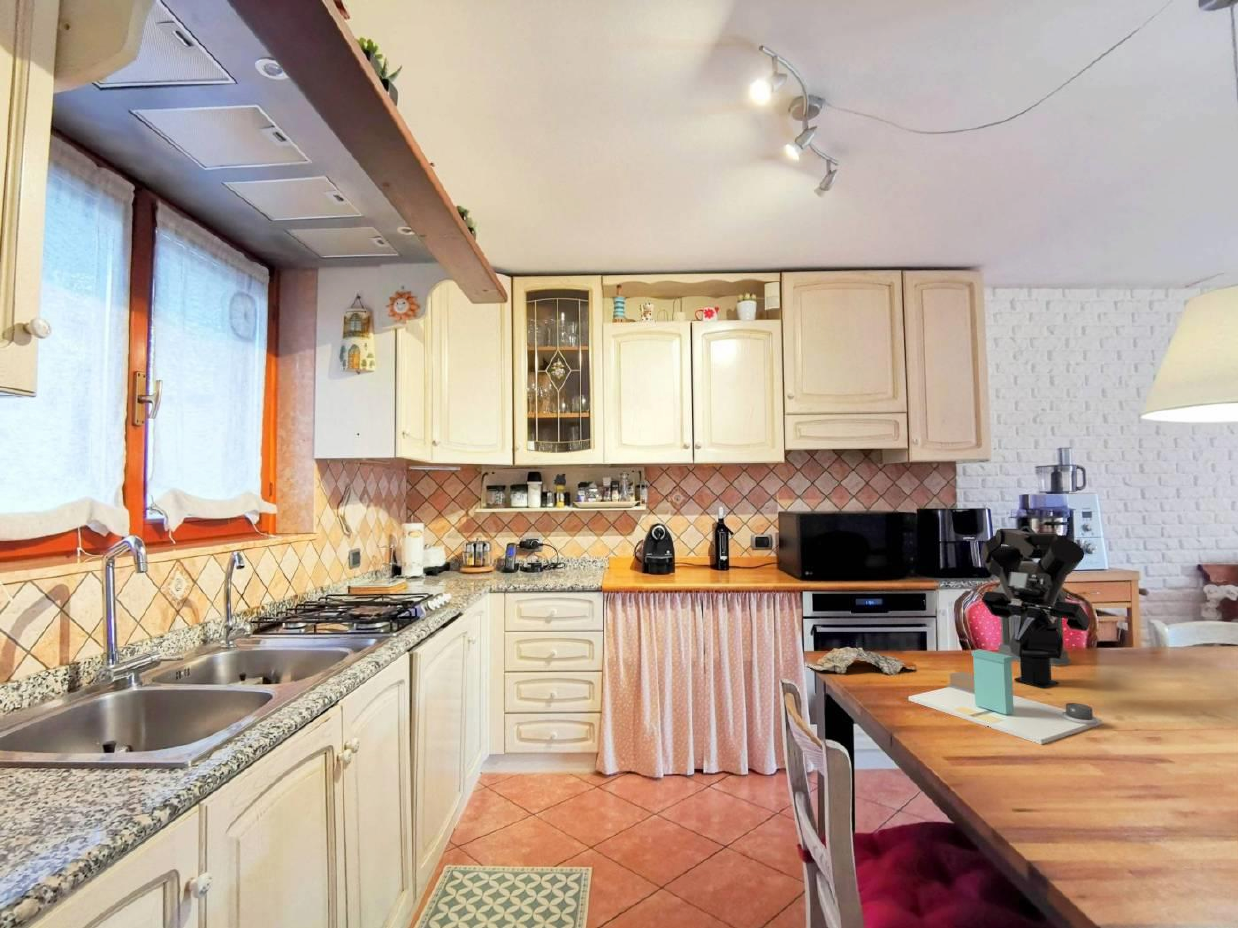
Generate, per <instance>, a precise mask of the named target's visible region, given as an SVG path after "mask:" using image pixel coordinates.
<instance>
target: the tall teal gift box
mask: <svg viewBox="0 0 1238 928" xmlns="http://www.w3.org/2000/svg"><path fill="white" fill-rule="evenodd" d="M971 656H972V658H973V659H972V661H973V675H974V685H975V705H976V706H980V707H983V708H986V709H989V710H993V711H996V712H999V713H1003V714H1010V713H1013V712H1014V706H1013V695H1014V689H1013V672H1012V671H1013V669H1012V665H1013V664H1012V663H1013V656H1008V655H1004V654H999V653H997V652H994V651H989V650H984V649H975V650H971Z"/></svg>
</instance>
